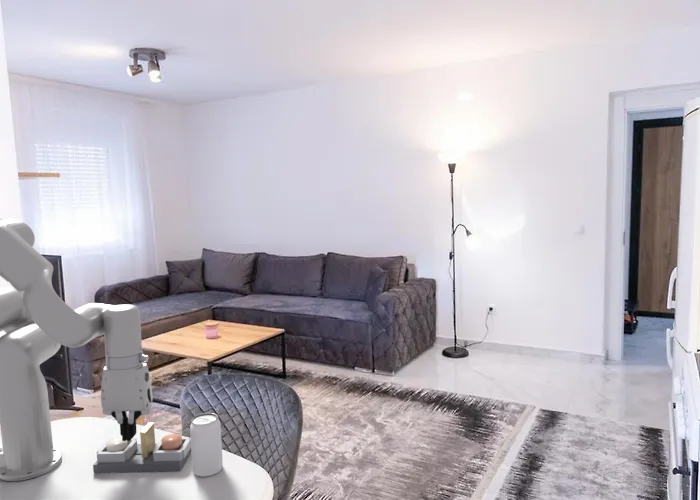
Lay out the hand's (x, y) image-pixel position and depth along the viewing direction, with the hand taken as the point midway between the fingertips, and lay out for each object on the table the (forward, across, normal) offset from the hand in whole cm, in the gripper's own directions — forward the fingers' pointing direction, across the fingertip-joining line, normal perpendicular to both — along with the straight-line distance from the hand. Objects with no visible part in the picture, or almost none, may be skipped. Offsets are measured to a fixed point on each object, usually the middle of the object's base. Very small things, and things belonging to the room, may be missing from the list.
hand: (128, 438), depth 119 cm
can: (+6, -19, +4) cm, 20 cm away
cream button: (+3, +3, 0) cm, 4 cm away
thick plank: (+4, -4, 0) cm, 6 cm away
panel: (+6, -3, 0) cm, 7 cm away
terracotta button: (+2, -10, 0) cm, 10 cm away
